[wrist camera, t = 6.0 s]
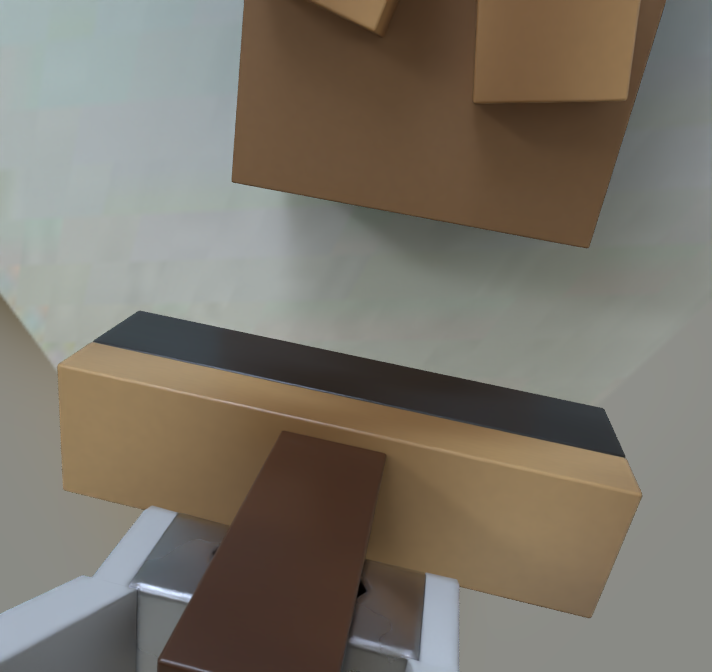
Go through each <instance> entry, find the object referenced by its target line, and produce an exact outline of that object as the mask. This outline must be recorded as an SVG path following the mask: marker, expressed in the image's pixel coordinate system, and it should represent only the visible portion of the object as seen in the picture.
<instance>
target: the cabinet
mask: <svg viewBox="0 0 712 672" xmlns="http://www.w3.org/2000/svg"><path fill="white" fill-rule="evenodd" d="M476 3H477V0H399V1H398V4H397V6H396V9H395V11H394V13H393V16H392V18H391V21H390V23H389V26H388V28H387V31H386V33H385V36H384V37H380V36H378V35H376V34H373V33H371V32H369V31H367V30H365V29H363V28H361V27H359V26H357V25H355V24H353V23H351V22H349V21H347V20H345V19H342V18H340V17H338V16H336V15H334V14H332V13H330V12H328V11H326V10H324V9H322V8H320V7H318V6H316V5H313V4H311V3H309V2H307V1H305V0H244V11H243V25H242V39H241V53H240V68H239V82H238V96H237V110H236V125H235V139H234V153H233V167H232V182H233V183H239V184H244V185H249V186H255V187H260V188H265V189H271V190H276V191H282V192H287V193H292V194H298V195H303V196H308V197H314V198H319V199H324V200H330V201H335V202H341V203H346V204H351V205H357V206H362V207H367V208H373V209H378V210H383V211H389V212H394V213H399V214H405V215H410V216H416V217H421V218H426V219H432V220H437V221H442V222H448V223H453V224H458V225H464V226H469V227H475V228H480V229H485V230H491V231H496V232H501V233H507V234H512V235H517V236H523V237H528V238H534V239H539V240H544V241H550V242H555V243H560V244H566V245H571V246H576V247H582V248H589V246H590V243H591V240H592V237H593V233H594V230H595V227H596V224H597V221H598V217H599V214H600V211H601V208H602V205H603V201H604V198H605V195H606V192H607V189H608V185H609V182H610V179H611V176H612V173H613V169H614V166H615V163H616V160H617V157H618V153H619V150H620V147H621V144H622V141H623V137H624V134H625V131H626V128H627V125H628V121H629V118H630V115H631V112H632V109H633V105H634V102H635V99H636V96H637V93H638V89H639V86H640V83H641V80H642V77H643V73H644V70H645V67H646V64H647V61H648V57H649V54H650V51H651V48H652V45H653V41H654V38H655V35H656V32H657V29H658V25H659V22H660V19H661V16H662V13H663V9H664V6H665V3H666V0H641V1H640V9H639V16H638V24H637V31H636V38H635V46H634V53H633V61H632V68H631V75H630V83H629V90H628V98H627V99H626V100H625V101H605V102H554V103H504V104H475V103H473V102H472V88H473V66H474V45H475V24H476Z"/></svg>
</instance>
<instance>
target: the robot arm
mask: <svg viewBox="0 0 712 672" xmlns="http://www.w3.org/2000/svg"><path fill="white" fill-rule="evenodd" d="M229 527H230V526H229V525H225V524H222V523H218V522H214V521H210V520H207V519H203V518H199V517H196V516H192V515H188V514H184V513H178V512H174V511H170V510H167V509H163V508H160V507H156V506H150V507H149V508H147V509H145V510H144V511H143V512H142V514H141V515H140V516H139V517H138V519H137V520H136V521H135V522H134V524H133V525H132V526H131V528H130V529H129V530H128V531H127V533H126V534H125V535H124V537H123V538H122V539H121V540H120V542H119V543H118V544H117V546H116V547H115V548H114V549H113V551H112V552H111V553H110V555H109V556H108V557H107V559H106V560H105V561H104V562H103V564H102V565H101V566H100V567H99V569H98V570H97V571H96V573H95V574H94V575H93V576H92V577H88V576H84V575H82V576H80V577H77V578H75V579H73V580H71V581H69V582H67V583H65V584H63V585H60V586H58V587H56V588H54V589H52V590H50V591H47V592H45V593H43V594H41V595H39V596H37V597H35V598H32V599H30V600H29V601H26V602H24V603H22V604H20V605H17V606H15V607H13V608H11V609H9V610H7V611H5V612H3V613H1V614H0V672H157V660H158V658H159V656H160V654H161V652H162V650H163V648H164V647H165V645H166V643H167V641H168V639H169V637H170V636H171V634H172V632H173V630H174V628H175V626H176V625H177V623H178V621H179V619H180V617H181V615H182V613H183V612H184V610H185V608H186V606H187V604H188V602H189V601H190V599H191V597H192V595H193V593H194V591H195V589H196V588H197V586H198V584H199V582H200V580H201V578H202V577H203V575H204V573H205V571H206V569H207V567H208V566H209V564H210V562H211V560H212V558H213V556H214V554H215V553H216V551H217V549H218V547H219V545H220V543H221V542H222V540H223V538H224V536H225V534H226V532H227V531H228V529H229ZM341 672H459V583H458V581H457V579H453V578H449V577H444V576H440V575H435V574H431V573H424V572H420V571H416V570H412V569H407V568H403V567H399V566H395V565H390V564H386V563H382V562H378V561H373V560H369V559H365V561H364V565H363V570H362V575H361V579H360V584H359V589H358V594H357V599H356V603H355V608H354V612H353V617H352V622H351V626H350V631H349V636H348V641H347V645H346V650H345V655H344V660H343V665H342V670H341Z"/></svg>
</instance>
